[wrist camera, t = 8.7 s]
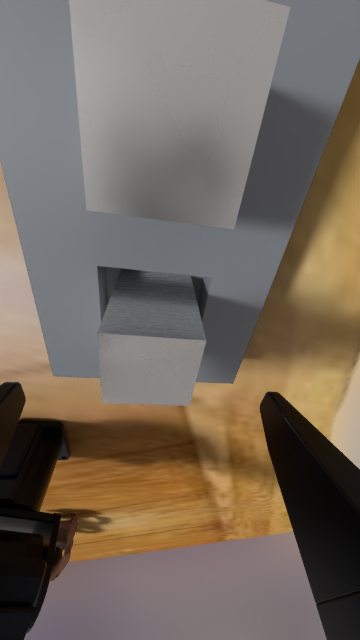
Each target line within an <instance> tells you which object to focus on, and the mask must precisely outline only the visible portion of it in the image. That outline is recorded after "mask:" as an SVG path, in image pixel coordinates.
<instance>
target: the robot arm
mask: <svg viewBox="0 0 360 640" xmlns="http://www.w3.org/2000/svg"><path fill="white" fill-rule="evenodd" d="M25 400H26V399H25V395H24V392H23V389H22V386H21V384H20V383H19V382H5V383H3V384H2V385H0V640H24V637H25V635H26V634H27V633H28V632H29V631H30V630H31V628H32V627H33V625H34V623H35V621H36V619H37V617H38V614H39V612H40V610H41V607H42V604H43V602H44V598H45V595H46V592H47V588H48V585H49V580H50V576H51V570H52V564H53V559H54V553H55V547H56V541H57V536H58V530H59V524H60V518H61V514H59V513H54V514H50V513H44V512H39V511H40V508H41V506H42V503H43V500H44V497H45V494H46V491H47V488H48V485H49V482H50V480H51V477H52V474H53V471H54V468H55V465H56V462H57V460H67V459H69V456H70V451H69V447H68V444H67V440H66V436H65V432H64V428H63V425H62V424H61V423H54V422H18V421H19V418H20V416H21V413H22V410H23V407H24V405H25ZM260 413H261V418H262V423H263V428H264V432H265V437H266V442H267V447H268V451H269V454H270V457H271V461H272V464H273V467H274V470H275V474H276V477H277V480H278V483H279V486H280V490H281V493H282V496H283V499H284V503H285V506H286V509H287V512H288V515H289V519H290V522H291V525H292V528H293V532H294V535H295V538H296V541H297V544H298V547H299V550H300V554H301V557H302V560H303V564H304V567H305V570H306V573H307V576H308V580H309V583H310V586H311V589H312V593H313V596H314V599H315V602H316V606H317V609H318V613H319V616H320V619H321V622H322V626H323V629H324V632H325V635H326V638H327V640H360V469H359V468H358V467H356V466H355V465H354V464H353V463H352V462H351V461H350V460H349V459H348V458H347V457H346V456H345V455H344V454H343V453H342V452H341V451H339V449H338V448H336V447H335V446H334V445H333V444H332V443H331V442H330V441H329V440H328V439H327V438H326V437H325V436H324V435H323V434H322V433H321V432H320V431H319V430H317V429H316V428H315V427H314V426H313V425H312V424H311V423H310V422H309V421H308V420H307V419H306V418H305V417H304V416H303V415H302V414H301V413H300V412H299V411H297V410H296V409H295V408H294V407H293V406H292V405H291V404H290V403H289V402H288V401H287V400H286V399H285V398H284V397H283V396H282V395H281V394H279V393H278V392H267V393H266V394H265V396H264V398H263V400H262V402H261V404H260Z"/></svg>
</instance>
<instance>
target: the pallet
mask: <svg viewBox="0 0 360 640" xmlns="http://www.w3.org/2000/svg"><path fill="white" fill-rule="evenodd" d="M266 1H270V2H273V3H277V4H281V5H285V6H288V7H291V8H290V12H289V15H288V19H287V23H286V27H285V31H284V35H283V39H282V43H281V47H280V51H279V55H278V59H277V63H276V67H275V71H274V74H273V78H272V82H271V86H270V90H269V94H268V98H267V102H266V106H265V110H264V114H263V118H262V122H261V126H260V130H259V133H258V137H257V141H256V145H255V149H254V153H253V157H252V161H251V165H250V169H249V173H248V177H247V181H246V185H245V189H244V193H243V196H242V200H241V204H240V208H239V212H238V216H237V220H236V224H235V228H234V229H226V228H218V227H211V226H203V225H195V224H188V223H180V222H172V221H164V220H157V219H149V218H141V217H134V216H126V215H118V214H110V213H103V212H95V211H87V210H86V200H85V188H84V176H83V164H82V152H81V140H80V128H79V116H78V104H77V91H76V79H75V67H74V55H73V43H72V31H71V19H70V7H69V0H0V161H1V165H2V169H3V174H4V178H5V182H6V186H7V190H8V194H9V198H10V202H11V206H12V210H13V214H14V218H15V222H16V226H17V231H18V235H19V239H20V243H21V247H22V251H23V255H24V259H25V263H26V267H27V271H28V275H29V279H30V284H31V288H32V292H33V296H34V300H35V304H36V308H37V312H38V316H39V320H40V324H41V328H42V332H43V336H44V341H45V345H46V349H47V353H48V357H49V361H50V365H51V369H52V373H53V376H60V377H84V378H100V366H99V352H98V338H97V332H98V329H99V327H100V324H101V321H102V319H103V316H104V313H105V310H106V308H107V305H108V302H109V300H110V297H111V294H112V292H113V289H114V286H115V283H116V281H117V278H118V275H119V273H120V270H121V268H123V269H133V270H143V271H153V272H163V273H172V274H181V275H190V276H191V280H192V284H193V288H194V292H195V296H196V300H197V304H198V308H199V312H200V316H201V320H202V324H203V328H204V333H205V337H206V344H205V348H204V352H203V356H202V359H201V363H200V367H199V371H198V375H197V378H196V382H207V383H231V384H233V382H234V380H235V377H236V375H237V372H238V369H239V367H240V364H241V362H242V359H243V357H244V354H245V352H246V349H247V346H248V344H249V341H250V339H251V336H252V334H253V331H254V328H255V326H256V323H257V321H258V318H259V316H260V313H261V311H262V308H263V305H264V303H265V300H266V298H267V295H268V293H269V290H270V287H271V285H272V282H273V280H274V277H275V275H276V272H277V270H278V267H279V264H280V262H281V259H282V257H283V254H284V252H285V249H286V246H287V244H288V241H289V239H290V236H291V234H292V231H293V228H294V226H295V223H296V221H297V218H298V216H299V213H300V211H301V208H302V205H303V203H304V200H305V198H306V195H307V193H308V190H309V187H310V185H311V182H312V180H313V177H314V175H315V172H316V170H317V167H318V164H319V162H320V159H321V157H322V154H323V152H324V149H325V146H326V144H327V141H328V139H329V136H330V134H331V131H332V129H333V126H334V123H335V121H336V118H337V116H338V113H339V111H340V108H341V105H342V103H343V100H344V98H345V95H346V93H347V90H348V87H349V85H350V82H351V80H352V77H353V75H354V72H355V70H356V67H357V64H358V62H359V59H360V0H266Z"/></svg>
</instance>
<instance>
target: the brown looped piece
mask: <svg viewBox="0 0 360 640" xmlns="http://www.w3.org/2000/svg"><path fill="white" fill-rule="evenodd" d="M76 528H77V519H76V516H75V515H73V516H72V518H71V520H68V521H60V524H59V530H58V536H57V541H56V547H55V553H54V559H53V564H52V570H51V576H50V580H49V581H52V580H54V579H55V578H56V577H58V576H59V574H60V573H61V571H62V570H63V569H64V568H65V566H66V564H67V563H68V561H69V559H70V553H71V551H70V550H71V548H72V545H73V537H74V535H75V532H76ZM65 548H66V549H65ZM62 549H63V550H64V549H65V552H64V556H63V557H62Z"/></svg>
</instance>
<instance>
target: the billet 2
mask: <svg viewBox="0 0 360 640" xmlns="http://www.w3.org/2000/svg"><path fill="white" fill-rule="evenodd" d="M97 338H98V352H99V366H100V379H101V393H102V403H123V404H154V405H186V406H189V405H190V401H191V397H192V393H193V390H194V386H195V382H196V378H197V375H198V371H199V367H200V363H201V359H202V356H203V352H204V348H205V344H206V337H205V333H204V328H203V324H202V320H201V316H200V312H199V308H198V304H197V300H196V296H195V292H194V288H193V284H192V280H191V276H190V275H181V274H172V273H163V272H153V271H143V270H133V269H123V268H121V270H120V273H119V275H118V278H117V281H116V283H115V286H114V289H113V292H112V294H111V297H110V300H109V302H108V305H107V308H106V310H105V313H104V316H103V319H102V321H101V324H100V327H99V329H98V332H97Z"/></svg>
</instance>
